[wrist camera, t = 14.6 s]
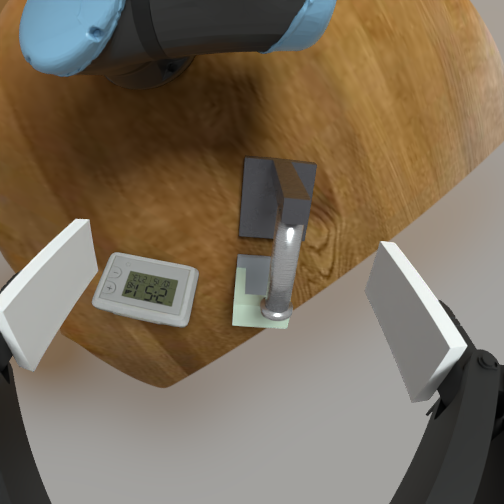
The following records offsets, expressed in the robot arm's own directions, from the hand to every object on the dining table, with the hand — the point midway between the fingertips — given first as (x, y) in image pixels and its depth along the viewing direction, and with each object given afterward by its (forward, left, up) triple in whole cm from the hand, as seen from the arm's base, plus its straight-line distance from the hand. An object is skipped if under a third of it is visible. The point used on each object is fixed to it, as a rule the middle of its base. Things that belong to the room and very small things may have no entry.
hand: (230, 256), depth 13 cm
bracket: (+4, -22, -31) cm, 38 cm away
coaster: (+4, -22, -32) cm, 39 cm away
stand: (+5, -9, -32) cm, 33 cm away
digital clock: (-14, -22, -32) cm, 42 cm away
